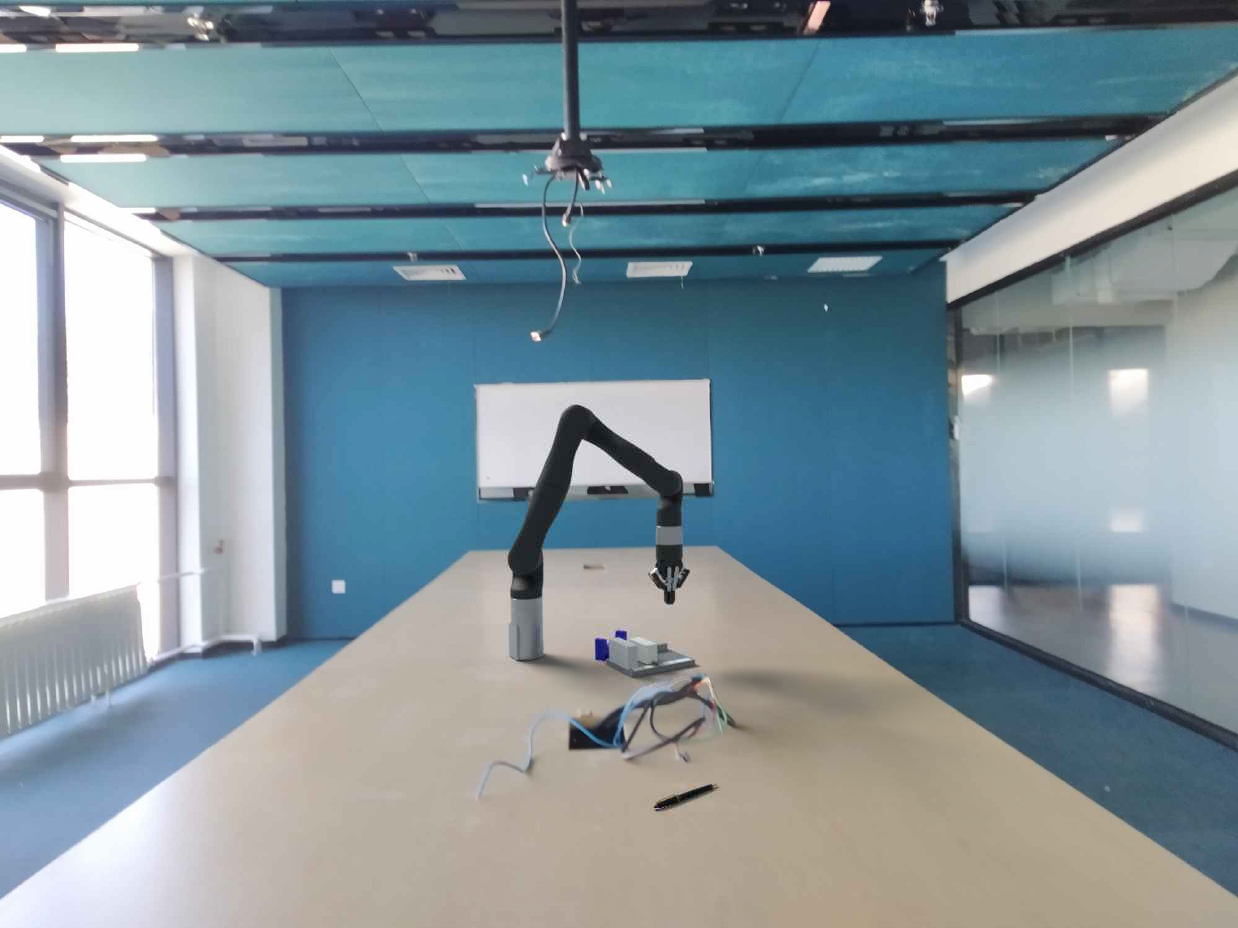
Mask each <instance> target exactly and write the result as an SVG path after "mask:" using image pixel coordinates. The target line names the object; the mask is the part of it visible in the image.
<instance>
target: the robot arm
mask: <svg viewBox="0 0 1238 928" xmlns="http://www.w3.org/2000/svg"><path fill="white" fill-rule="evenodd" d="M582 441H585V442H587V443H590V444H592V445H594V446H595V447H596V448H598V449H600V450H602V451H603V452H604V453H606V454H607V455H608V456H609V457H611V459H613V460H614V461H615V463H617V464H618V465H620V466H621V467H622V468H624V469H625V470H627V471H629V472H630V473H631V474H633V475H634V476H635V477H638V478H639V479H641V480H642V481H643V482H644V483H645V484H646V485H647V486H648V487H650V488H651V489H652V490H653V491H654V492H657V493H658V494H659V495H658V497H659V499H658V506H657V508H656V513H655V514H656V524H655V525H656V529H655V559H656V563H655V564H654V569H653V570H652V571H649V572H648V576H649V578H650V579H651V581H652V582H653V583H654V585H655V586H656V588H658V589H660V590H662V591H663V601H664V603H665V605H668V606H669V605H674V603H675V602H676V590H677V589H681V588H682V586H683V585H684V583H685V581H686V579H687V578H688V577H689V574H690V573H691V570H690V569H688V568H686V567H685V566H684V562H683V560H682V559H683V557H684V555H683V554H684V552H683V551H684V548H683V547H684V545H683V543H684V541H683V538H684V537H683V528H682V527H683V525H682V524H683V523H682V521H683V520H682V519H683V518H682V516H683V515H682V504H683V496H684V481H683V477H682V476H681V474H680V473H679V472H678V471H676V470H672V469H670V470H669V469H668V468H667V467H665V466H663V465H662V464H660V463H659V462H658V461H657V460H656V459H655V458H654V457H653V456H652V455H650V454H649V453H647V452H646V451H644V450H643V449H642V448H640V447H639V446H637V445H635V444H634V443H632V442H630V441H629V440H627V439H625V438H624V437H622V436H621V435H620V434H617V433H616V432H615V431H613V430H612V429H610V428H609V427H608V426H607V425H605V423H603V422H602V421H601V420H600V418H598V417H597V416H596V415H595V414H594V412H593V411H592V410H590V409H589V408H588V407H585V406H583V405H580V404H571V405H569V406H568V407H566V408H565V409H564V410H563V411H562V413H561V414H560V417H559V420H558V423H557V428H556V432H555V436H554V439H553V442H552V445H551V448H550V451H549V453H548V455H547V458H546V460H545V462H544V465H543V467H542V470H541V472H540V474H539V476H538V479H537V481H536V484H535V487H534V489H533V492H532V495H531V498H530V501H529V504H528V506H527V510H526V513H525V517H524V521H523V524H522V526H521V528H520V530H519V532H518V534H517V536H516V538H515V540H514V542H513V543H512V546H511V548H510V549H509V552H508V554H507V565H508V567H509V569H510V570H511V572H512V575H511V576H512V577H511V585H510V591H509V593H510V595H509V596H510V599H509V600H510V622H509V623H508V656H509V657H511V658H512V659H514V660H515V661H523V660H524V661H528V660H535V659H536V660H537V659H540V658H542V657H544V655H545V654H544V649H545V648H544V647H545V646H544V616H543V615H544V610H543V609H544V608H543V602H544V601H543V588H544V553H543V550H542V549H543V545H544V542H545V539H546V536H547V534H548V531H550V528H551V527H552V524H553V523H554V522H555V520H556V518H557V516H558V515H559V512H560V511H561V509H562V507H563V505H564V502H565V500H566V497H567V496H568V492H569V489H570V485H571V483H572V479H573V478H572V476H573V470H574V461H575V457H576V454H577V452H578V449H579V447H580V445H581V442H582Z"/></svg>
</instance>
